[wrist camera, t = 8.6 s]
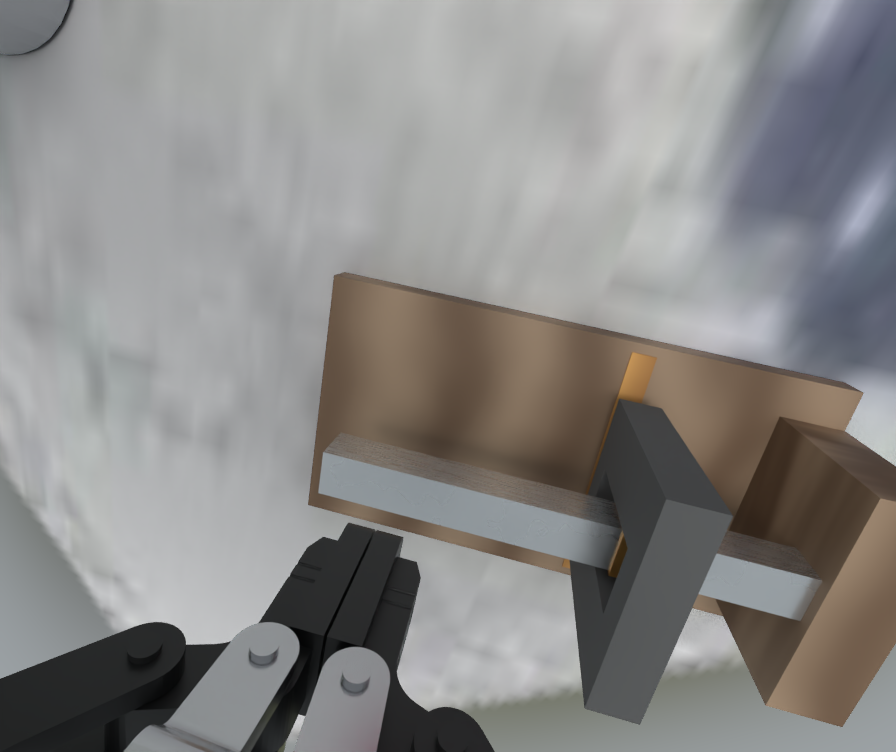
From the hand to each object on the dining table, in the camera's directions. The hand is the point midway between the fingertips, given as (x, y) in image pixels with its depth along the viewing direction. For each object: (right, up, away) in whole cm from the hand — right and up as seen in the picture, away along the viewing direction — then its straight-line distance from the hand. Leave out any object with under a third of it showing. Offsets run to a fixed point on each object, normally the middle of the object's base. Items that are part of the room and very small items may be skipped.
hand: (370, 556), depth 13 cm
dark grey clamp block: (+10, -1, +12) cm, 16 cm away
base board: (+8, +1, +15) cm, 17 cm away
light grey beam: (+7, -1, +9) cm, 11 cm away
